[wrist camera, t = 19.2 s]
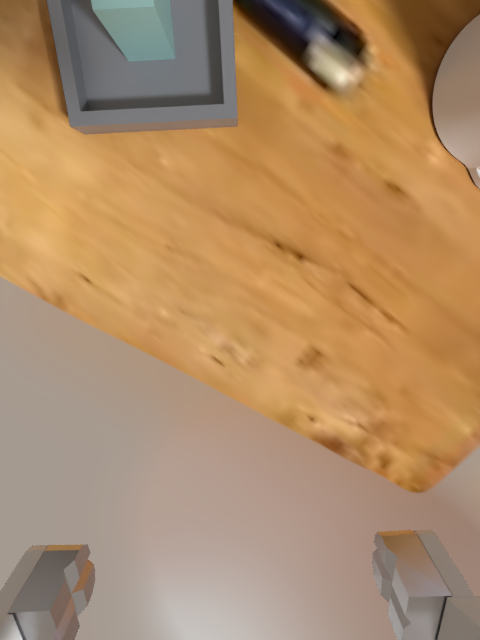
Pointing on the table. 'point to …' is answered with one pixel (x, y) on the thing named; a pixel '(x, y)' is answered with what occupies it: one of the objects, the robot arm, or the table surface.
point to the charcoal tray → (147, 71)
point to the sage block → (138, 27)
